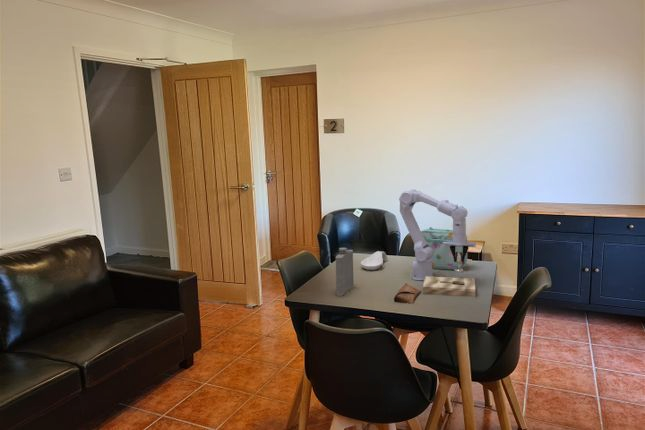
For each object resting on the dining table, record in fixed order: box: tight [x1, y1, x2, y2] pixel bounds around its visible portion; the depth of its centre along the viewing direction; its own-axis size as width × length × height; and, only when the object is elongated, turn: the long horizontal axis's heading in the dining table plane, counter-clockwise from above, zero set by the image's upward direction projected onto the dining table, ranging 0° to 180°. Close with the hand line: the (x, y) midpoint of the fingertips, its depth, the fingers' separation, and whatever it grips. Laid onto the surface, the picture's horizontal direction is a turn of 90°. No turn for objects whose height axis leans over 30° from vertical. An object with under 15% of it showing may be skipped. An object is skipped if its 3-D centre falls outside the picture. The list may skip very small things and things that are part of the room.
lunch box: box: [420, 226, 468, 271], centre depth 240 cm, size 27×10×21 cm, turn 67°
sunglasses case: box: [393, 283, 423, 305], centre depth 198 cm, size 18×7×7 cm, turn 157°
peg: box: [454, 251, 464, 273], centre depth 212 cm, size 4×4×9 cm
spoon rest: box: [360, 250, 389, 271], centre depth 248 cm, size 24×12×7 cm, turn 152°
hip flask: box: [335, 247, 355, 297], centre depth 207 cm, size 16×4×20 cm, turn 156°
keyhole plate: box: [422, 276, 476, 298], centre depth 205 cm, size 22×16×3 cm
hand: (458, 261), depth 212 cm, fingers closed on peg, 3 cm apart
